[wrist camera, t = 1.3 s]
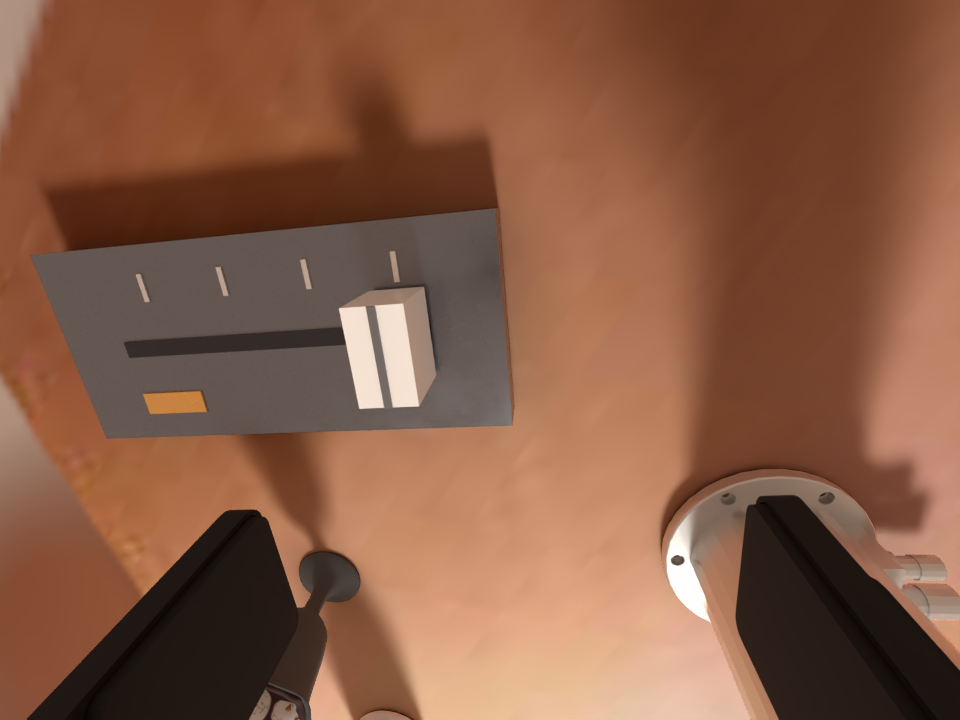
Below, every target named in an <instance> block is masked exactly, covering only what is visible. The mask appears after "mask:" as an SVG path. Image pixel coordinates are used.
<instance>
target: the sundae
mask: <svg viewBox="0 0 960 720" xmlns="http://www.w3.org/2000/svg"><path fill="white" fill-rule="evenodd" d="M299 576H300V580H301V582H302V584H303V586H304V587H305V588H306V589H307V590H308V591H309V592H310V593H311V596H310V599H309V600H308V602H307V604H306V605H305V607H303V608H297V610H298V614H299V620H298V626H297V629H296V632H295V634H294V636H293V638H292V639H291V641H290V643H289V645H288V647H287V649H286V651H285V653H284V655H283V656H282V658H281V660H280V662H279V664H278V666H277V668H276V670H275V671H274V673H273V675H272V677H271V679H270V681H269V683H268V685H267V686H266V688H265V690H264V692H263V694H262V696H261V698H260V700H259V702H258V703H257V705H256V707H255V709H254V711H253V713H252V715H251V717H250V718H249V720H311V709H310V706H309V700H310V697H311V693H312V690H313V687H314V684H315V681H316V678H317V675H318V672H319V669H320V666H321V662H322V659H323V655H324V651H325V646H326V642H327V631H326V628H325V625H324V622H323V620H322V619H321V617H320V616H319V612H320V610H321V608H322V606H323V604H324V603H325V601H330V602H343V601H346V600H349V599H350V598H352V597H353V596H354V595H355V594H356V593H357V592H358V590H359V587H360V578H359V574H358V573H357V571H356V569H355V568H354V566H353V565H352V564H351V563H350V562H349V561H347V560H346V559H345V558H343V557H341V556H339V555H336V554H333V553H328V552H318V553H313V554H311V555H308V556H307V557H306V558H305V559H304V560H303V561H302V562H301V564H300V568H299Z"/></svg>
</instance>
